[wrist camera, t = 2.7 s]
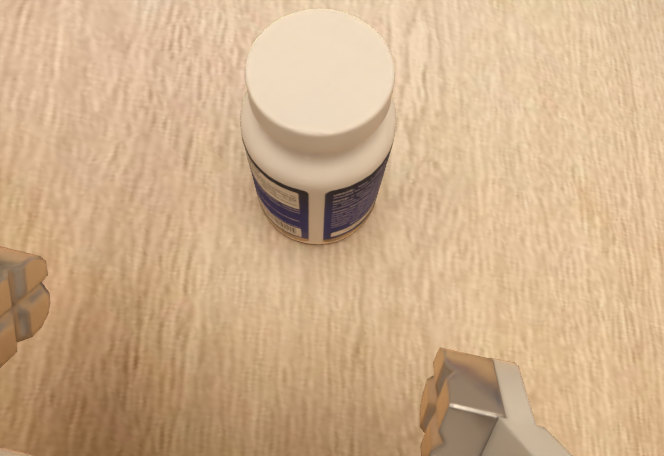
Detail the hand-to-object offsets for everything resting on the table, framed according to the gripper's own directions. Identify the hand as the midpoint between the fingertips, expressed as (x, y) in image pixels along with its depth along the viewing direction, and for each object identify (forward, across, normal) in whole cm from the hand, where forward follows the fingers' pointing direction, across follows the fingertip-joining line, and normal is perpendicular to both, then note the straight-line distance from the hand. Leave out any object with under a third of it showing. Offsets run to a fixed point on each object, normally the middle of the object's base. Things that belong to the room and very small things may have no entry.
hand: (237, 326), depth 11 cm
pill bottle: (+15, 0, -3) cm, 15 cm away
